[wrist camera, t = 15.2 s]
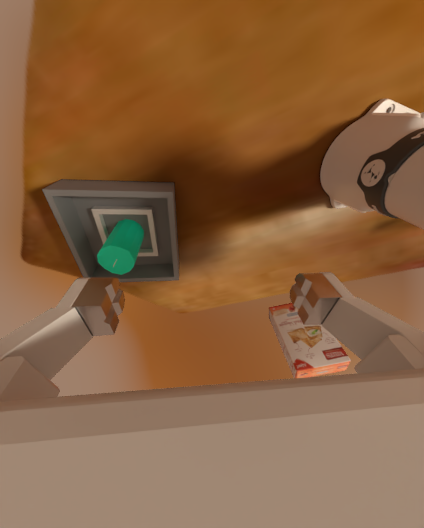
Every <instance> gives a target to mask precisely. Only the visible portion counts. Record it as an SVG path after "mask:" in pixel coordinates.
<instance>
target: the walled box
mask: <svg viewBox="0 0 424 528" xmlns="http://www.w3.org/2000/svg"><path fill="white" fill-rule="evenodd" d="M42 191H43V193H44V195H45V197H46V199H47V201H48V203H49V205H50V208H51V210H52V212H53V214H54V216H55V218H56V220H57V222H58V224H59V227H60V229H61V231H62V233H63V235H64V237H65V239H66V241H67V243H68V246H69V248H70V250H71V252H72V254H73V256H74V258H75V260H76V262H77V265H78V267H79V269H80V271H81V273H82V275H83V277H84V278H92V277H116V278H118V279H119V282H141V281H170V280H179V250H178V234H177V218H176V202H175V186H174V182H139V181H102V180H66V179H61V180H59V181H57V182H55V183H53V184H52V185H50V186H48V187H46V188H44V189H42ZM124 219H129V220H134V221H135V222H137V223H138V224H140V225H141V227H142V228H143V230H144V238H143V241H142V244H141V247H140V250H139V253H138V256H137V259H136V262H135V265H134V267H133V268H132V269H131V270H130V272H127V273H125V274H122V275H120V274H115V273H111V272H110V271H108V270H106V269H104V268H103V267H102V266H101V265H100V264H99V263H98V259H97V254H98V253H99V251H100V249H101V248H102V246H103V245H104V243H105V241H106V240H107V238H108V237H109V235H110V234H111V232H112V230H113V229H114V227H115V226H116V224H117V223H118V221H121V220H124Z"/></svg>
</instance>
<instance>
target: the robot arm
mask: <svg viewBox="0 0 424 528" xmlns="http://www.w3.org/2000/svg"><path fill="white" fill-rule="evenodd" d="M387 109H388V111H387V112H386V110H387ZM320 180H321V185H322V187H323V189H324V191H325V192H326V193H327V194H328V195H329V197H330V201H331V205H332V207H334V208H337V209H338V208H344V207H350V208H352V209H354V210H357V211H359V212H362V213H365V212H368V211H374V210H375V211H377V212H378V213H380V214H383V215H386V216H389V217H392V218H400V219H402V220H404V221H407V222H409V223H411V224H413V225H415V226H417V227H419V228H421V229H423V230H424V113H419V112H417V111H414V110H412V109H410V108H408V107H406V106H403V105H401V104H399V103H397V102H395V101H392V100H390V99H381V100H380V101H378V102H377V103H376V104H375V105H374V106H373V107H372V108H371V109H370V110H369V111H368V113H367V114H366V115H365V116H363V117H362V118H360V119H359V120H357V121H356V122H354V123H352V124H351V125H350V126H348V127H347V128H346V129H345V130H344V131H342V132H341V133H340V134H339V136H338V137H337V138H336V139H335V140H334V142H333V143H332V144H331V146H330V147H329V149H328V151H327V153H326V155H325V157H324V160H323V163H322V166H321V172H320ZM295 281H296V284H294V285H293V286H292V287H291V290H290V299H291V302H292V304H293V306H295V307H296V308H298V315H299V317H300V319H301V321H302V322H303V324H304V325H321V326H323V327H324V328H325V329H326V330H327V331H328V332H330V333H331V334H332V335H333V336H334V337H336V338H337V339H338V340H339V341H341V342H342V343H343V344H344V345H345V346H346V347H347V348H349V349H350V350H351V351H352V352H353V353H354V354H356V355H357V356H358V357H359V358H360V359H362V360H361V361H360V362H359V363H358V364H357V365H356V366H355V370H356V372H357V373H358V374H346V375H332V376H319V377H306V378H293V379H282V380H281V379H280V380H268V381H255V382H242V383H229V384H218V385H217V384H216V385H203V386H191V387H178V388H166V389H152V390H140V391H126V392H113V393H101V394H88V395H75V396H62V397H57V396H58V394H59V392H60V390H59V388H58V387H57V386H56V385H55V384H54V383H52V382H51V381H50V380H51V379H52V378H53V377H54V376H55V375H56V373H58V372H59V371H60V370H61V368H63V367H64V365H66V364H67V363H68V362H69V361H70V360H71V359H72V357H74V355H76V354H77V353H78V352H79V351H80V349H82V347H83V346H85V345H86V344H87V342H89V341H90V340H91V338H93V337H92V336H101V335H114V334H115V331H116V328H117V325H118V323H119V319H118V317H117V316H118V315H119V314H120V313H122V311H123V308H124V302H125V299H124V294H123V291H122V290H120V289H119V286H120V282H119V279H118V278H116V277H92V278H78V279H76V280H75V281H74V283H73V284H72V285H71V287H70V288H69V290H68V291H67V292H66V294H65V295H64V296H63V298H62V299H61V301H60V302H59V304H58V305H57V306H56V308H51V309H49V310H47V311H46V312H44V313H43V314H41V315H39V316H37V317H36V318H34V319H33V320H31V321H29V322H28V323H26V324H24V325H23V326H21V327H19V328H18V329H16V330H15V331H13V332H11V333H10V334H8V335H6V336H5V337H3V338H1V339H0V528H424V332H422V331H420V330H418V329H416V328H415V327H413V326H411V325H409V324H407V323H405V322H403V321H402V320H400V319H398V318H396V317H394V316H392V315H390V314H388V313H386V312H385V311H383V310H381V309H379V308H377V307H375V306H373V305H372V304H370V303H368V302H366V301H364V300H362V299H360V298H358V297H354V296H353V295H352V294H351V293H350V292H349V291H348V289H347V288H346V287H345V286H344V285H343V284H342V283H341V282H340V281H339V280H338V278H337V277H336V276H335V275H334V274H333V273H331V272H322V273H299V274H298V275H297V276H296V278H295Z"/></svg>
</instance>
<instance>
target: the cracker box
mask: <svg viewBox="0 0 424 528" xmlns="http://www.w3.org/2000/svg"><path fill="white" fill-rule="evenodd" d="M269 319H270V321H271V324H272V326H273V328H274V331H275V333H276V336H277V338H278V341H279V343H280V345H281V348H282V350H283V353H284V355H285V358H286V360H287V362H288V364H289V367H290V369H291V372H292V374H293V377H294V378H306V377H312V376H317V375H323V374H328V373H334V372H339V371H343V370H346V369H347V367H348V365H349V363H350V361H351V360H350V358H349V357H348V355H347V354H346V352H345V351H344V350H343V348H342V347H341V345H340V344H339V342H338V341H337V339H336V338H335V337H334V336H333V335H332V334H331V333H330V332H328V331H327V330H326V329H325V328H324V327H323V326H321V325H304V324H303V322H302V321H301V319H300V317H299V315H298V308H296V307H295V306H293V304H292V303H289V304H284V305H279V306H274V307H270V308H269Z"/></svg>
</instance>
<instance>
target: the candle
mask: <svg viewBox="0 0 424 528" xmlns="http://www.w3.org/2000/svg"><path fill="white" fill-rule="evenodd" d="M143 238H144V230H143V228H142V227H141V225H140V224H138V223H137V222H135V221H134V220H129V219H124V220H121V221H118V223H117V224H116V226H115V227H114V229H113V230H112V232H111V234H110V235H109V237H108V238H107V240H106V241H105V243H104V245H103V246H102V248H101V249H100V251H99V253H98V254H97V259H98V263H99V264H100V265H101V266H102V267H103V268H104V269H106V270H108V271H110V272H111V273H115V274H120V275H122V274H125V273H127V272H130V270H131V269H132V268H133V267H134V265H135V262H136V259H137V256H138V253H139V250H140V247H141V244H142V241H143Z"/></svg>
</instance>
